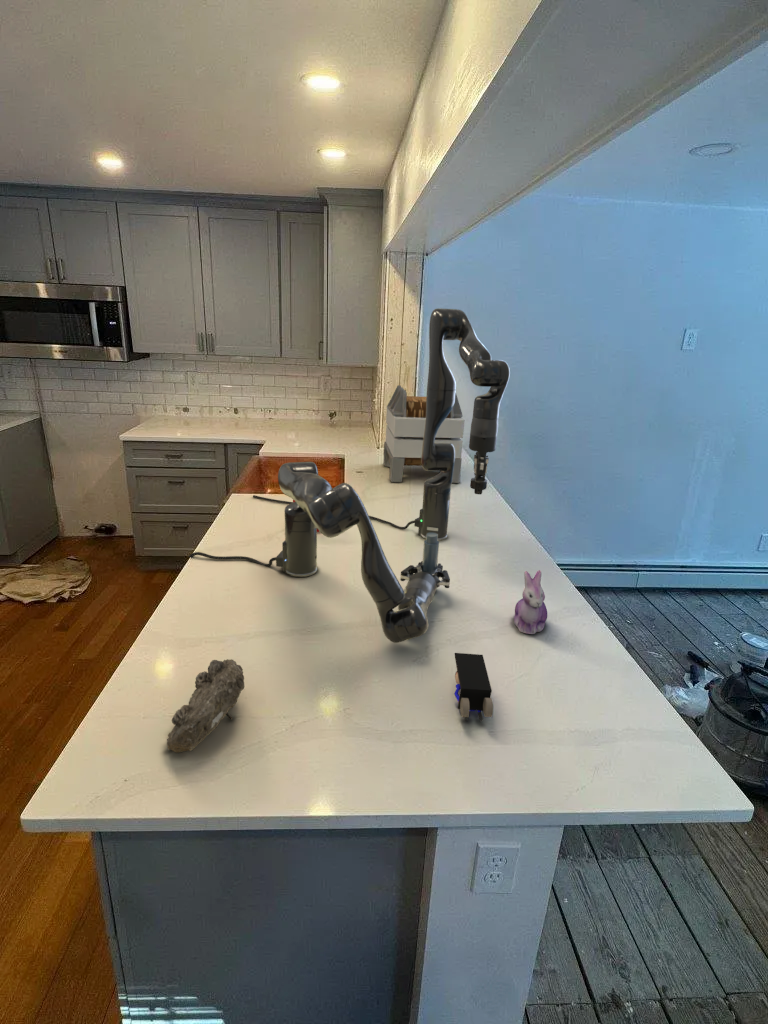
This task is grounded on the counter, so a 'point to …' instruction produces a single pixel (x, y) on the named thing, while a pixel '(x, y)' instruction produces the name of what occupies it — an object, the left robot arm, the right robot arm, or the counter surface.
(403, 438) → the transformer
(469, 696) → the black toy cart
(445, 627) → the counter surface
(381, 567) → the left robot arm
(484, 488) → the lid
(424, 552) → the grey cylinder
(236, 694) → the fossil
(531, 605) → the figurine
